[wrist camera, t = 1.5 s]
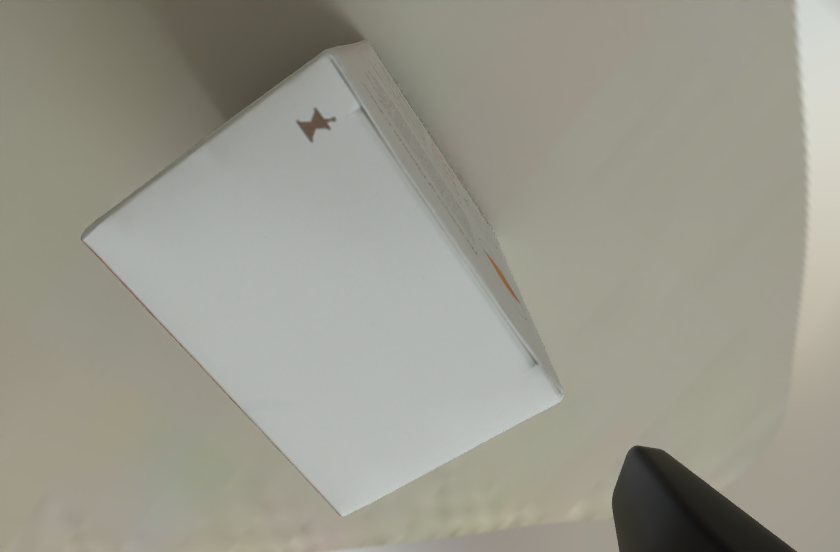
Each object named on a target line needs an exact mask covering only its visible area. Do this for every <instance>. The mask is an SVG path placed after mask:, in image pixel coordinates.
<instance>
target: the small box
mask: <svg viewBox="0 0 840 552" xmlns="http://www.w3.org/2000/svg"><path fill="white" fill-rule="evenodd" d="M81 240H82V241H83V242H84V243H85V244H86V245H87V246H88V247H89V249H90V250H91V251H92V252H93V253H94V254H95V255H96V256H97V257H98V258H99V259H100V260H101V261H102V262H103V263H104V264H105V265H106V266H107V267H108V269H109V270H110V271H111V272H112V273H113V274H114V275H115V276H116V277H117V278H118V279H119V280H120V281H121V282H122V283H123V285H124V286H125V287H126V288H127V289H128V290H129V291H130V292H131V293H132V294H133V295H134V296H135V297H136V298H137V300H138V301H139V302H140V303H141V304H142V305H143V306H144V307H145V308H146V309H147V310H148V311H149V312H150V314H151V315H152V316H153V317H154V318H155V319H156V320H157V321H158V322H159V323H160V324H161V325H162V326H163V327H164V328H165V329H166V330H167V331H168V332H169V333H170V334H171V336H172V337H173V338H174V339H175V340H176V341H177V342H178V343H179V344H180V345H181V346H182V347H183V348H184V349H185V350H186V351H187V352H188V353H189V355H190V356H191V357H192V358H193V359H194V360H195V361H196V362H197V363H198V364H199V365H200V366H201V367H202V368H203V369H204V371H205V372H206V373H207V374H208V375H209V376H210V377H211V378H212V379H213V380H214V381H215V382H216V383H217V384H218V385H219V386H220V388H221V389H222V390H223V391H224V392H225V393H226V394H227V395H228V396H229V397H230V398H231V400H232V401H233V402H234V403H235V404H236V405H237V406H238V407H239V408H240V409H241V410H242V411H243V412H244V413H245V414H246V415H247V416H248V418H249V419H250V420H251V421H252V422H253V423H254V424H255V425H256V426H257V427H258V428H259V429H260V430H261V431H262V432H263V433H264V434H265V436H266V437H267V438H268V439H269V440H270V441H271V442H272V443H273V444H274V445H275V446H276V447H277V449H278V450H279V451H280V452H281V453H282V454H283V455H284V456H285V457H286V458H287V459H288V460H289V461H290V462H291V463H292V464H293V466H294V467H295V468H296V469H297V470H298V471H299V472H300V473H301V474H302V475H303V476H304V477H305V479H306V480H307V481H308V482H309V483H310V484H311V485H312V486H313V487H314V488H315V489H316V490H317V492H318V493H319V494H320V495H321V496H322V497H323V498H324V499H325V500H326V501H327V502H328V503H329V504H330V505H331V506H332V508H333V509H334V510H335V511H336V512H337V513H338V515H339V516H343V517H345V516H347V515H348V514H350V513H352V512H354V511H356V510H358V509H360V508H362V507H364V506H366V505H368V504H370V503H372V502H374V501H376V500H378V499H379V498H381V497H383V496H385V495H387V494H389V493H391V492H393V491H395V490H396V489H398V488H400V487H402V486H404V485H405V484H407V483H409V482H411V481H413V480H415V479H416V478H418V477H420V476H422V475H424V474H426V473H428V472H430V471H432V470H434V469H435V468H437V467H439V466H441V465H443V464H445V463H446V462H448V461H450V460H452V459H454V458H456V457H458V456H459V455H461V454H463V453H465V452H467V451H469V450H471V449H472V448H474V447H476V446H478V445H480V444H482V443H484V442H485V441H487V440H489V439H491V438H493V437H495V436H496V435H498V434H500V433H502V432H504V431H506V430H508V429H509V428H511V427H513V426H515V425H517V424H519V423H521V422H523V421H524V420H526V419H528V418H530V417H532V416H534V415H536V414H538V413H540V412H542V411H544V410H546V409H548V408H550V407H552V406H553V405H555V404H557V403H559V402H560V401H561V400H562V398H563V395H564V392H563V389H562V386H561V384H560V382H559V380H558V377H557V375H556V373H555V370H554V368H553V366H552V363H551V361H550V359H549V356H548V354H547V352H546V350H545V347H544V345H543V343H542V341H541V338H540V336H539V334H538V332H537V329H536V327H535V325H534V322H533V320H532V318H531V316H530V314H529V312H528V309H527V307H526V305H525V302H524V300H523V298H522V296H521V293H520V291H519V288H518V286H517V284H516V282H515V280H514V277H513V275H512V273H511V270H510V268H509V266H508V263H507V261H506V259H505V256H504V254H503V252H502V249H501V247H500V245H499V242H498V240H497V238H496V236H495V234H494V232H493V231H492V229H491V228H490V226H489V225H488V224H487V222H486V221H485V219H484V217H483V216H482V214H481V213H480V211H479V210H478V208H477V207H476V205H475V204H474V202H473V201H472V199H471V198H470V196H469V195H468V193H467V192H466V190H465V189H464V187H463V186H462V184H461V182H460V181H459V179H458V178H457V176H456V175H455V173H454V172H453V170H452V169H451V167H450V166H449V164H448V163H447V161H446V160H445V158H444V157H443V155H442V154H441V152H440V151H439V149H438V147H437V146H436V144H435V143H434V141H433V140H432V138H431V137H430V135H429V134H428V132H427V131H426V129H425V128H424V126H423V125H422V123H421V122H420V120H419V119H418V117H417V115H416V114H415V112H414V111H413V109H412V108H411V106H410V105H409V103H408V102H407V100H406V99H405V97H404V96H403V94H402V93H401V91H400V90H399V88H398V87H397V85H396V84H395V82H394V80H393V79H392V77H391V76H390V74H389V73H388V71H387V70H386V68H385V67H384V65H383V64H382V62H381V61H380V59H379V57H378V56H377V54H376V53H375V51H374V49H373V48H372V46H371V45H370V43H369V42H368V41H367V40H362V41H359V42H356V43H352V44H347V45H341V46H336V47H333V48H328V49H326V50H324V51H322V52H321V53H320V54H318V55H317V56H315V57H314V58H313V59H311V60H310V61H309V62H307V63H306V64H305V65H303V66H302V67H300V68H299V69H298V70H296V71H295V72H294V73H292V74H291V75H290V76H288V77H287V78H285V79H284V80H283V81H281V82H280V83H279V84H277V85H276V86H274V87H273V88H272V89H270V90H269V91H268V92H266V93H265V94H264V95H262V96H261V97H259V98H258V99H257V100H255V101H254V102H253V103H251V104H250V105H248V106H247V107H246V108H244V109H243V110H242V111H240V112H239V113H237V114H236V115H235V116H233V117H232V118H231V119H229V120H228V121H227V122H225V123H224V124H223V125H221V126H220V127H219V128H217V129H216V130H215V131H213V132H212V133H211V134H209V135H208V136H207V137H205V138H204V139H203V140H202V141H200V142H199V143H198V144H196V145H195V146H194V147H192V148H191V149H190V150H188V151H187V152H186V153H184V154H183V155H182V156H180V157H179V158H178V159H176V160H175V161H174V162H172V163H171V164H170V165H169V166H167V167H166V168H165V169H163V170H162V171H161V172H159V173H158V174H157V175H155V176H154V177H153V178H151V179H150V180H149V181H148V182H146V183H145V184H144V185H142V186H141V187H140V188H138V189H137V190H136V191H134V192H133V193H132V194H131V195H129V196H128V197H127V198H125V199H124V200H123V201H121V202H120V203H119V204H117V205H116V206H115V207H113V208H112V209H111V210H109V211H108V212H107V213H105V214H104V215H103V216H101V217H100V218H99V219H97V220H96V221H95V222H93V223H92V224H91V225H90V226H89V227H88V228H87V229H85V231H84V232H83V234H82V236H81Z"/></svg>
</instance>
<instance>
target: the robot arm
mask: <svg viewBox="0 0 840 552" xmlns="http://www.w3.org/2000/svg"><path fill="white" fill-rule="evenodd" d="M612 509H613V516H614V522H615V527H616V534H617V540H618V545H619V551H620V552H797V551H795V550H794V549H793V548H791V547H790V546H789V545H788V544H786V543H785V542H784V541H782V540H781V539H780V538H778V537H777V536H776V535H774V534H773V533H772V532H770V531H769V530H768V529H766V528H765V527H764V526H762V525H761V524H760V523H759V522H757V521H756V520H755V519H753V518H752V517H751V516H749V515H748V514H747V513H745V512H744V511H743V510H741V509H740V508H739V507H737V506H736V505H735V504H733V503H732V502H731V501H730V500H728V499H727V498H726V497H724V496H723V495H722V494H720V493H719V492H718V491H716V490H715V489H714V488H712V487H711V486H710V485H709V484H707V483H706V482H705V481H703V480H702V479H701V478H699V477H698V476H697V475H695V474H694V473H693V472H691V471H690V470H689V469H687V468H686V467H685V466H683V465H682V464H681V463H680V462H678V461H677V460H676V459H674V458H673V457H672V456H670V455H669V454H668V453H666V452H665V451H663V450H661V449H657V448H650V447H643V446H634V447H632V448H631V449H630V450H629V451H628V453H627V455H626V458H625V461H624V464H623V467H622V469H621V472H620V475H619V478H618V480H617V483H616V486H615V489H614V492H613V497H612Z"/></svg>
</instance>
